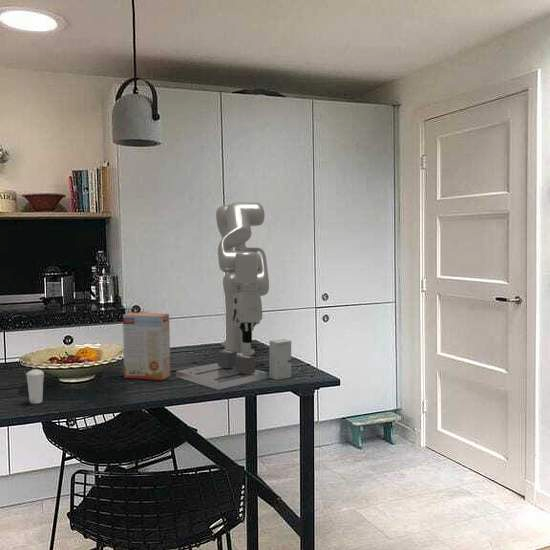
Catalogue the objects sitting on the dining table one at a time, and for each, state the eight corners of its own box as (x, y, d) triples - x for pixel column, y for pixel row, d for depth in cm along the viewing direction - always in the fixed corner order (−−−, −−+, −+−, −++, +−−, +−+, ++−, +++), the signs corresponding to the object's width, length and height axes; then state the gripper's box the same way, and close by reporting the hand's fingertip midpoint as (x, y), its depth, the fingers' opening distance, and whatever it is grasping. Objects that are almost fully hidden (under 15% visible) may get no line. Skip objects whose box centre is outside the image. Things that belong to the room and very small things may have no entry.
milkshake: (22, 401, 172) (21, 366, 171) (42, 399, 175) (41, 364, 174) (25, 405, 168) (24, 369, 167) (46, 402, 171) (45, 367, 170)
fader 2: (235, 371, 197) (235, 355, 196) (244, 369, 199) (244, 354, 199) (245, 374, 193) (245, 358, 193) (255, 372, 196) (254, 356, 195)
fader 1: (218, 366, 205) (217, 351, 204) (227, 364, 207) (227, 349, 207) (227, 368, 201) (227, 353, 200) (236, 366, 204) (236, 351, 203)
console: (176, 377, 200) (175, 370, 200) (224, 367, 213) (224, 361, 213) (217, 389, 184) (217, 382, 184) (267, 378, 197) (267, 372, 197)
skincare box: (276, 380, 195) (276, 342, 194) (268, 377, 199) (268, 340, 198) (292, 377, 199) (292, 340, 198) (284, 374, 202) (284, 338, 201)
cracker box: (171, 376, 200) (170, 313, 199) (162, 381, 194) (161, 315, 193) (133, 373, 204) (131, 311, 203) (123, 378, 199) (122, 313, 197)
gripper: (236, 290, 200) (237, 346, 201) (270, 287, 210) (270, 341, 211) (222, 289, 205) (222, 343, 206) (255, 286, 215) (256, 338, 216)
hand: (247, 342), depth 208 cm, fingers closed
